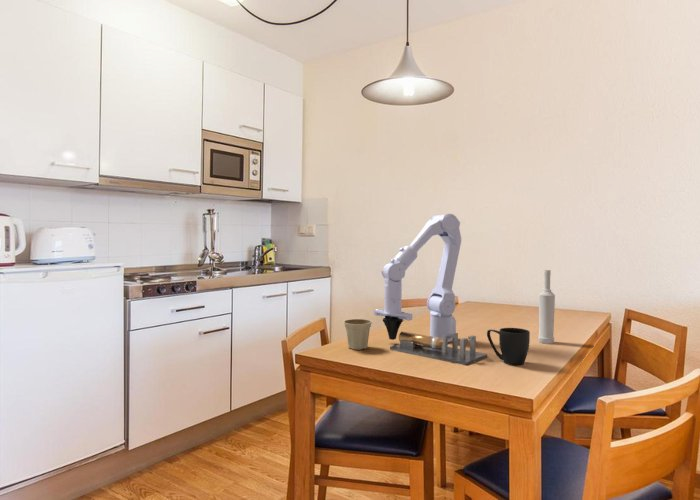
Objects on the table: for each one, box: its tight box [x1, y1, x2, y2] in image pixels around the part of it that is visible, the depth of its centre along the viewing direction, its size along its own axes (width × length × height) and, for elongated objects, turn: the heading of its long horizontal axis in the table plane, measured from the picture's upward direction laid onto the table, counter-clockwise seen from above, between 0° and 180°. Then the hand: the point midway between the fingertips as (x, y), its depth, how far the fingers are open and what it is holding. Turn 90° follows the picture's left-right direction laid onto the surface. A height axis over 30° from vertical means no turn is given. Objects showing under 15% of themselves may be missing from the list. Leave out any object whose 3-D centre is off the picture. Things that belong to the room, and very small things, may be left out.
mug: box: [486, 327, 531, 367], centre depth 135 cm, size 8×12×10 cm
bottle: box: [537, 269, 556, 345], centre depth 161 cm, size 5×5×25 cm
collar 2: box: [459, 335, 477, 359], centre depth 138 cm, size 7×1×6 cm, turn 138°
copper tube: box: [398, 331, 442, 350], centre depth 149 cm, size 16×4×4 cm, turn 48°
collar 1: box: [442, 332, 459, 355], centre depth 142 cm, size 7×1×6 cm, turn 138°
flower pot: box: [342, 318, 373, 351], centre depth 152 cm, size 9×9×9 cm
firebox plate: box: [389, 340, 488, 366], centre depth 145 cm, size 13×27×3 cm, turn 48°
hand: (392, 339), depth 157 cm, fingers closed
